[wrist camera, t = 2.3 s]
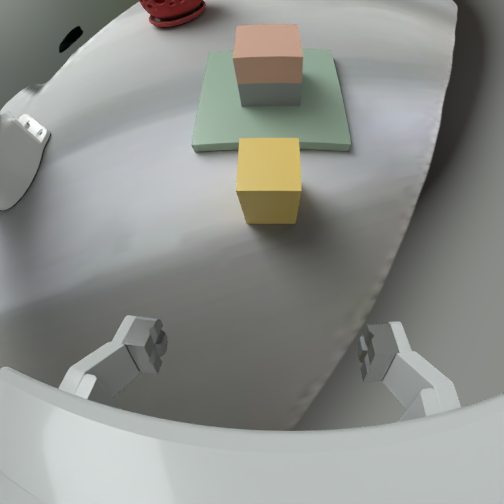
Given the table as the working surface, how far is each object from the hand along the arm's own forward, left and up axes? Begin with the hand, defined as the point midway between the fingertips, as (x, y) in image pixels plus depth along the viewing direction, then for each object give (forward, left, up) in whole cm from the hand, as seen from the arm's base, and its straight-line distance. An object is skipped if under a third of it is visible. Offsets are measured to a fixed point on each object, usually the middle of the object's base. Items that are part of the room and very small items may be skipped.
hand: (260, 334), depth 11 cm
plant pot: (-52, +27, -17) cm, 61 cm away
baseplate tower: (-20, +20, -17) cm, 33 cm away
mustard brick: (-9, +9, -17) cm, 21 cm away
